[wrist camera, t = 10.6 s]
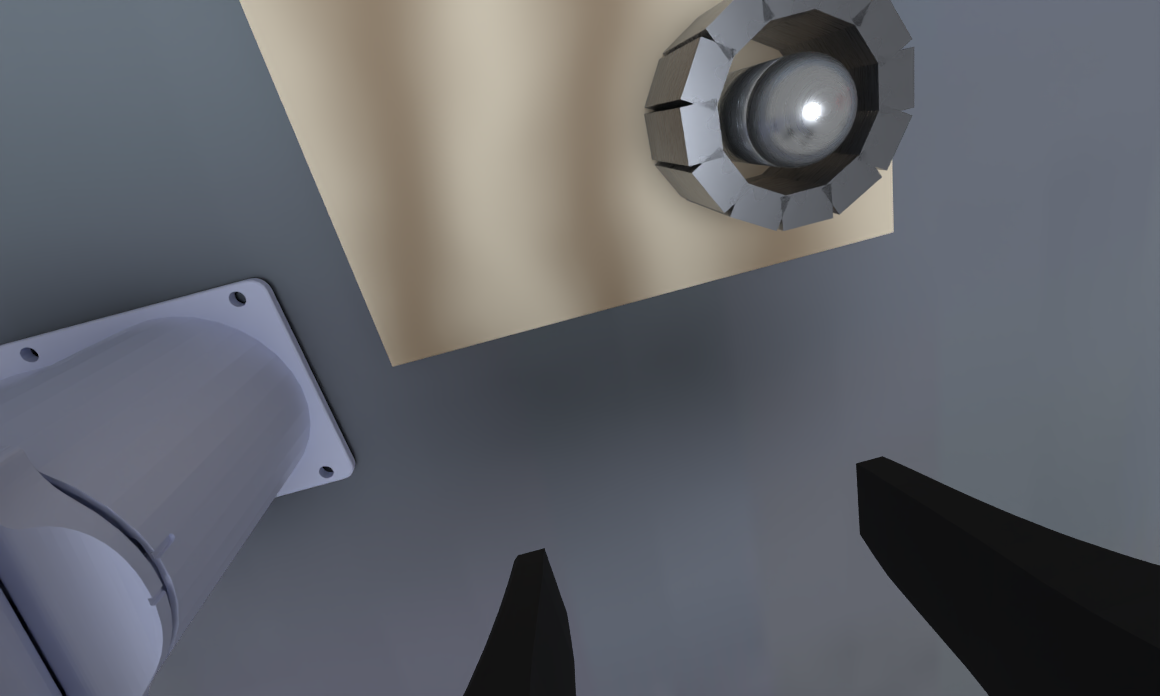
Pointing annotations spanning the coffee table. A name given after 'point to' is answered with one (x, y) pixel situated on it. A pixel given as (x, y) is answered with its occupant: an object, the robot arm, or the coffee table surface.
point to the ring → (789, 24)
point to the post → (787, 110)
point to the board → (508, 161)
